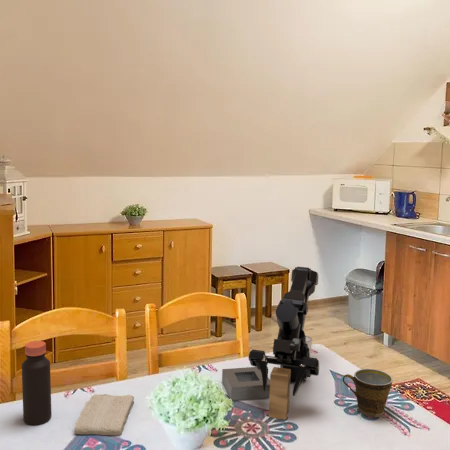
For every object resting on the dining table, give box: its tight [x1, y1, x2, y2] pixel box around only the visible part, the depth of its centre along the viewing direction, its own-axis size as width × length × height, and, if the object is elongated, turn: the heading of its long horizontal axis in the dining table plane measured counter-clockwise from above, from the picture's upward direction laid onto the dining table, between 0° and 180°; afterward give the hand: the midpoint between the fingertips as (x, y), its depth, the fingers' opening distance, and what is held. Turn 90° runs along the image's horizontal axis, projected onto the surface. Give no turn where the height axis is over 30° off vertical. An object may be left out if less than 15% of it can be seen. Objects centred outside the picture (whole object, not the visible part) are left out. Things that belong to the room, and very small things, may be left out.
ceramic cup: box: [342, 368, 393, 418], centre depth 141 cm, size 13×10×10 cm
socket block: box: [221, 366, 270, 402], centre depth 152 cm, size 12×12×4 cm
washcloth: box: [73, 393, 135, 436], centre depth 135 cm, size 12×18×3 cm, turn 0°
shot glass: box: [305, 335, 313, 353], centre depth 175 cm, size 7×7×7 cm
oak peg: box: [268, 366, 291, 420], centre depth 138 cm, size 5×5×12 cm
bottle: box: [21, 340, 52, 426], centre depth 131 cm, size 7×7×20 cm
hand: (278, 393), depth 136 cm, fingers open, 7 cm apart
